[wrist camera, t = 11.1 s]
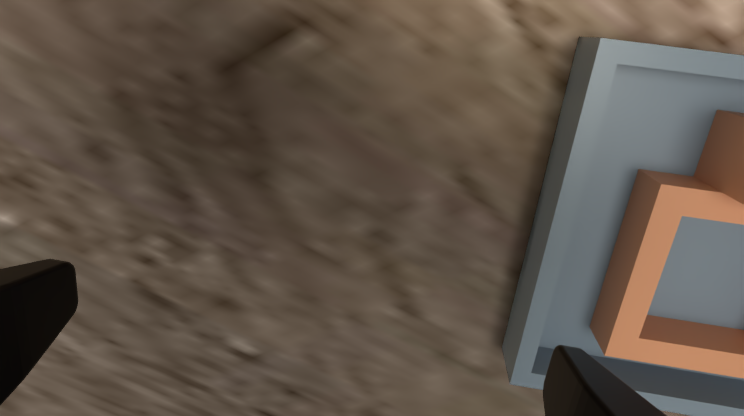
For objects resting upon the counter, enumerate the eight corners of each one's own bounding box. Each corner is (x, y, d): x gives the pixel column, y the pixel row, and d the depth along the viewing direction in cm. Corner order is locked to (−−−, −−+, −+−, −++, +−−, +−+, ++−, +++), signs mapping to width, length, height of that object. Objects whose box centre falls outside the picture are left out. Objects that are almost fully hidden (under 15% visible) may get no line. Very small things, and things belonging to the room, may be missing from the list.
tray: (811, 399, 22) (857, 444, 19) (501, 347, 23) (510, 384, 20) (977, 86, 17) (1063, 95, 15) (579, 36, 18) (600, 37, 16)
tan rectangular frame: (761, 354, 21) (833, 425, 17) (589, 326, 21) (623, 390, 17) (865, 128, 17) (982, 155, 14) (659, 102, 18) (719, 121, 14)
